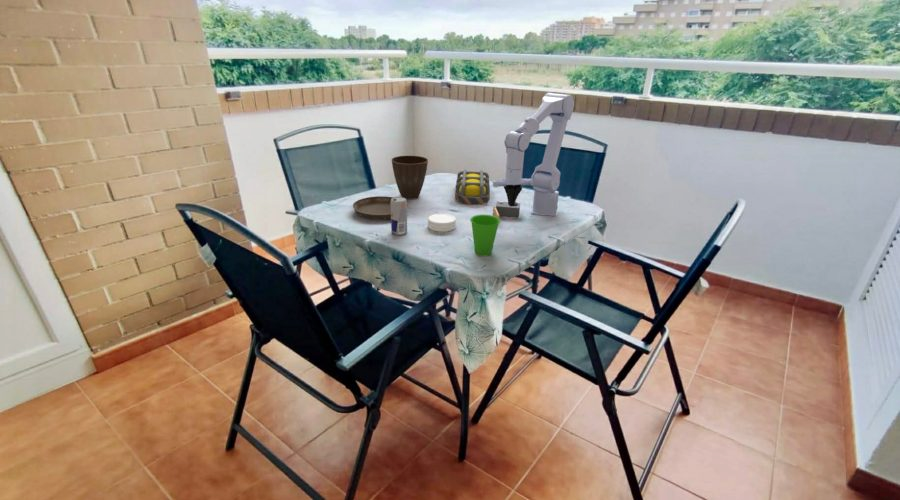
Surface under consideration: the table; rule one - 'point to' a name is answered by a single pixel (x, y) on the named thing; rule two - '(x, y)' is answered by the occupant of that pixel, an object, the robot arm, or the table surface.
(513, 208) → the camera body
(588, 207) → the table surface
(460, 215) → the table surface
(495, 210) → the wooden matchstick
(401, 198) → the energy drink
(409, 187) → the plant pot
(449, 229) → the white round disc
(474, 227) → the cup
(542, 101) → the robot arm
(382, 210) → the plant saucer
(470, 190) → the cage light
